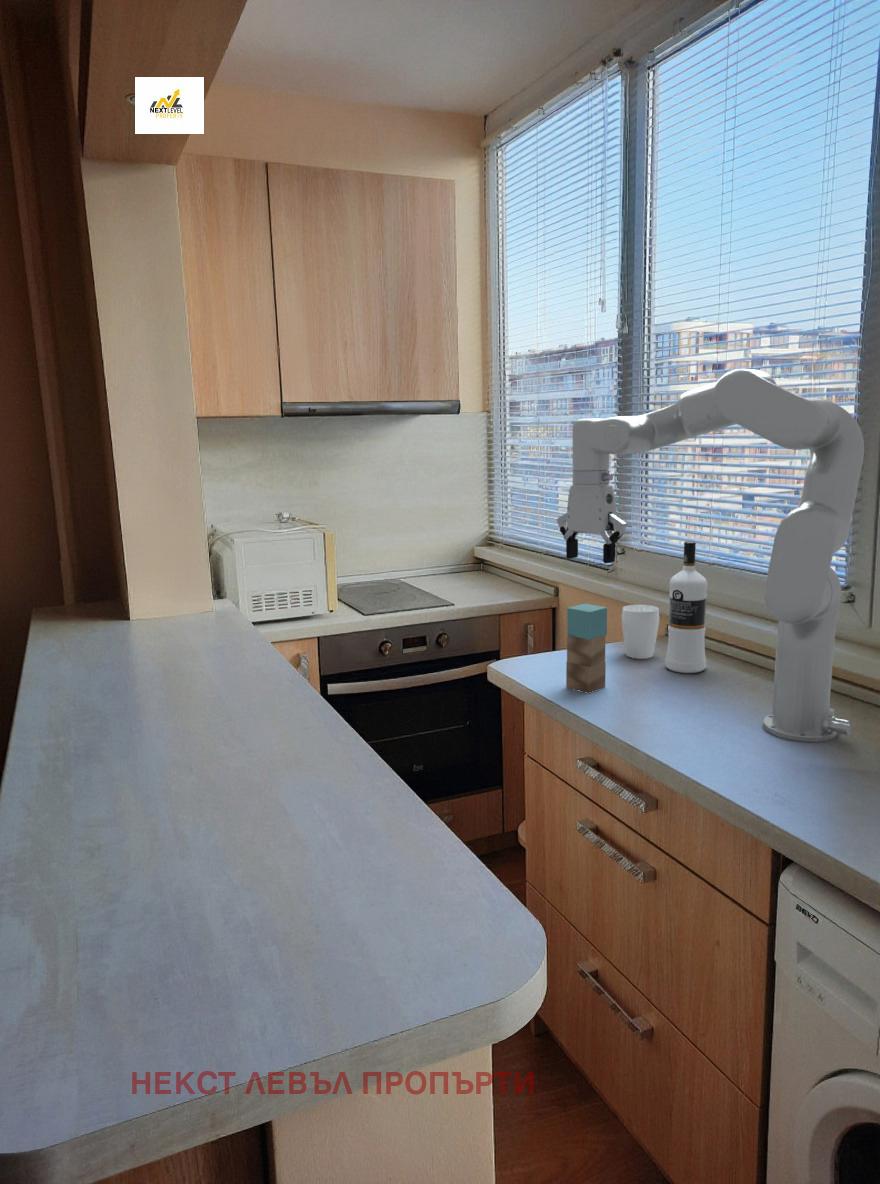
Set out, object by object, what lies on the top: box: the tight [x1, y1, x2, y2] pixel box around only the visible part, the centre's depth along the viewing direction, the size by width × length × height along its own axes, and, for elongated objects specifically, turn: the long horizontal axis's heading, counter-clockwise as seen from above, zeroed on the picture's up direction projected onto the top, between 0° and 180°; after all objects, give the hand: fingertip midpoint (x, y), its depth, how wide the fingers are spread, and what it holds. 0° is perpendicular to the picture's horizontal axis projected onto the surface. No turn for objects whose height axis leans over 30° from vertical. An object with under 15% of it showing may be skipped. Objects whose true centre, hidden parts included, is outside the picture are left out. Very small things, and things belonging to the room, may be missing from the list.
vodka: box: [664, 540, 708, 674], centre depth 187 cm, size 9×9×30 cm
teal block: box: [566, 603, 608, 640], centre depth 175 cm, size 6×6×6 cm
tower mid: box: [566, 634, 607, 667], centre depth 177 cm, size 6×6×6 cm
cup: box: [621, 604, 660, 660], centre depth 201 cm, size 9×9×12 cm
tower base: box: [565, 660, 607, 694], centre depth 178 cm, size 6×6×6 cm
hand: (590, 560), depth 173 cm, fingers open, 9 cm apart
